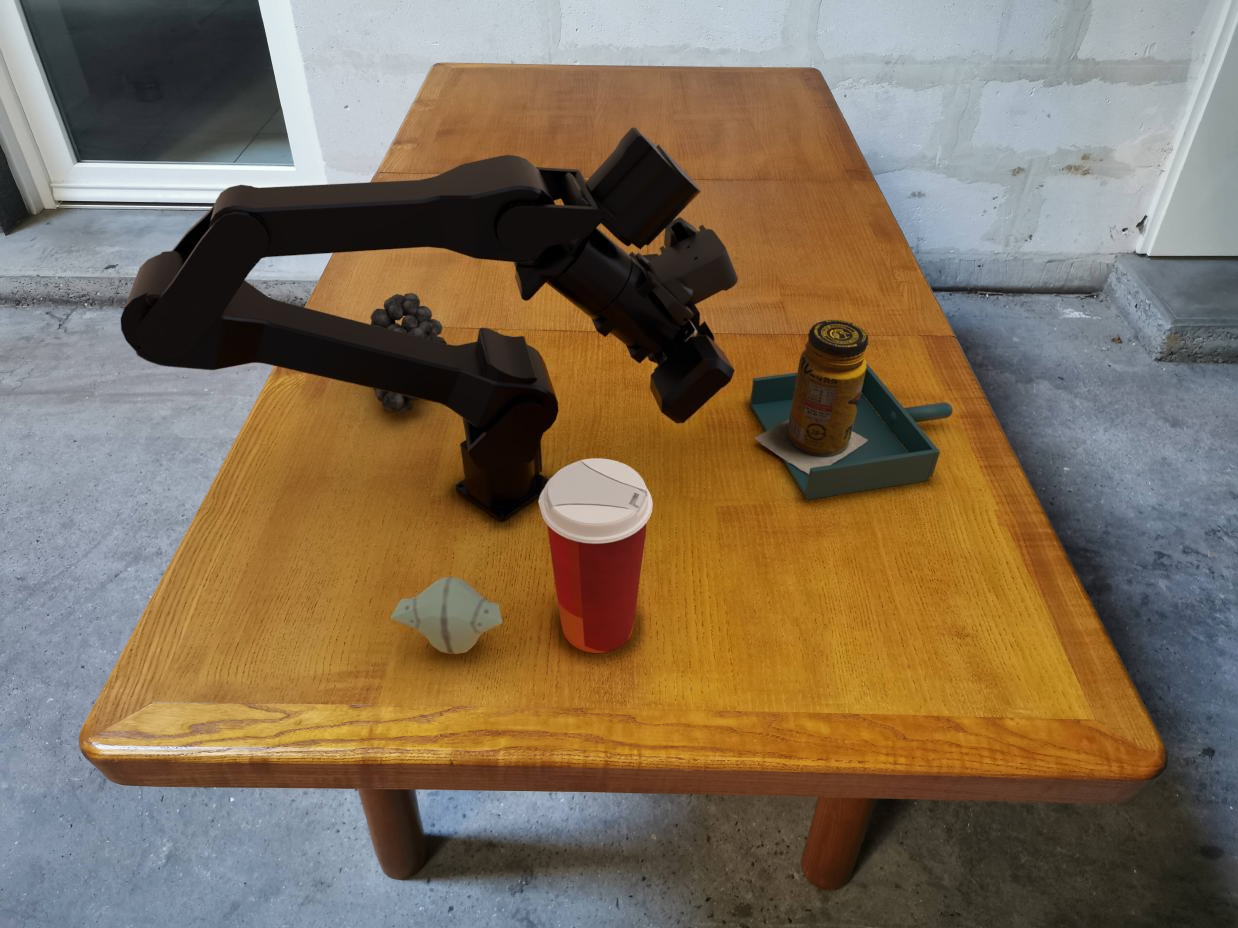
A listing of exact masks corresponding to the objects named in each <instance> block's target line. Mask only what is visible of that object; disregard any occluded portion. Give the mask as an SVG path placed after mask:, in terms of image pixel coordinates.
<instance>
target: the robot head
mask: <svg viewBox="0 0 1238 928" xmlns="http://www.w3.org/2000/svg"><path fill="white" fill-rule="evenodd" d="M500 610H501V609H500V605H499V603H497V602H493V601H490V600H487V599H486V598H485V597H483V595H481V593H479V592H478V591H477V590H476V589H475V588H474V587H472V586H471V584H469V583H468V582H467V581H466V580H465V579H463V578H460V577H453V576H447V577H441V578H439V579H437V580H436V581H434V582H433V583H432V584H430V585H429V586H427V588H425V589H424V590H422V591H421V592H420V593H419V594H418V595H416V596H412V597H406V598H401V599H400V600H399V602H398V604H397V605H396V607H395V609H394V610H393V612H392V614H391V616H390V619H392V620H393V621H397V622H399V623H402V624H403V625H406V626H408V627H411V628H412V629H415V630H416V631H417V632H419V633H421V635H423V636H424V638H426V639H427V641H428V642H429V643H430V644H431V646H432V647H433V648H434V649H436V650H438V651H439V652H440V653H445V654H451V655H458V654H464V653H465V654H466V653H467V652H469V651H470V650H471V649H472V648H473V647H474V646H475V645H476V644H477V642H478V640H479V637H481V636H482V635H483V634H485V632H487V631H489V630H491V629H493V628H496V627H498V626H499V625H502V624H503V620H502V615H501V611H500Z"/></svg>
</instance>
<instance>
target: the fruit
mask: <svg viewBox="0 0 1238 928" xmlns="http://www.w3.org/2000/svg"><path fill="white" fill-rule="evenodd" d="M369 317H370V321H371V322H370V325H374V326H378V327H382V328H386V329H390V330H394V331H397V332H401V333H405V334H409V335H413V336H417V337H421V338H425V339H428V340H432V341H436V342H440V343H444V344H448V343H447V340H445V338H444V337H441V336H439V335H441V334H442V331H443V325H442V323H441V321H439V320H438V319H435V318H432V317H433V312H432V310H431V309H430V307H428V306H426V305H421V299H420V298H419V295H418V294H416V293H413V292H409V293H405V294H404V295H402V294H398V293H395V294H394V295H392V296H390V297H388V298H387V299H385V300H384V303H383V308H376V309H374V310H373V311H372V313H371V314H370V316H369ZM400 320H401V323H398V322H397V321H400ZM372 390H373V391H374V395H375V397H376V399H377V400H378V401H379V402H382V406H383V407H384V409H385V410H386V411H388V412H391V413H395V412H397V414H406V413H408V412H410V411H411V410H412V409H413V406H414V405H413V401H415V400H417V399H418V398H414V397H409V396H405V395H401V394H396V393H392V392H387V391H383V390H378V389H374V388H372ZM418 400H419V399H418Z"/></svg>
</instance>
